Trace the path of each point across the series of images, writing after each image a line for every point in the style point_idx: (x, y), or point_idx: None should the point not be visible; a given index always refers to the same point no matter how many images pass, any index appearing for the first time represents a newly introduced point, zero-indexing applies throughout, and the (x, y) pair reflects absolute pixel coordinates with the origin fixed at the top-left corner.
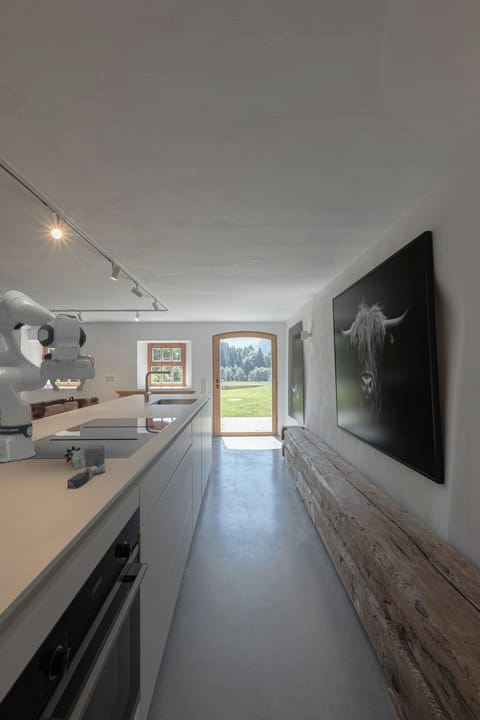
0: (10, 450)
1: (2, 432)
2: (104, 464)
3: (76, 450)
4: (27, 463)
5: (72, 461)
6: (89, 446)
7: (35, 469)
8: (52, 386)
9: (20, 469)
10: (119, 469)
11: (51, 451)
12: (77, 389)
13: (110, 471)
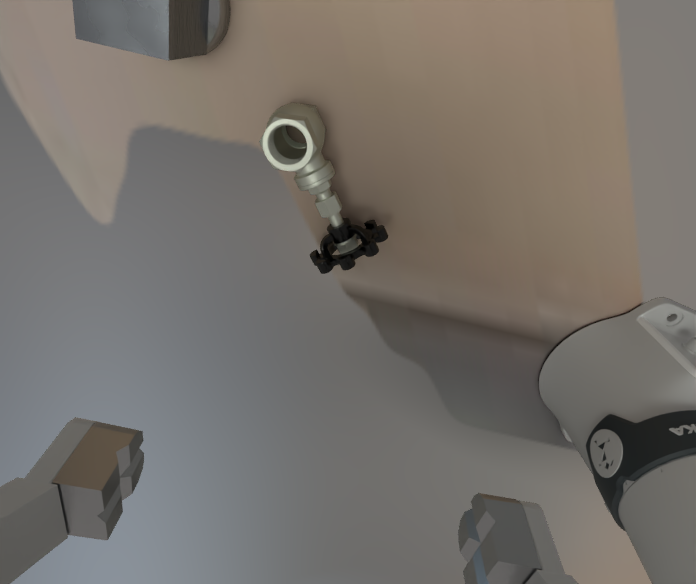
0: (653, 344)
1: None
2: None
3: (300, 162)
4: (551, 265)
5: (318, 116)
6: (166, 29)
7: (498, 149)
8: (570, 580)
9: (568, 168)
10: None
11: (484, 421)
12: (118, 442)
13: None
